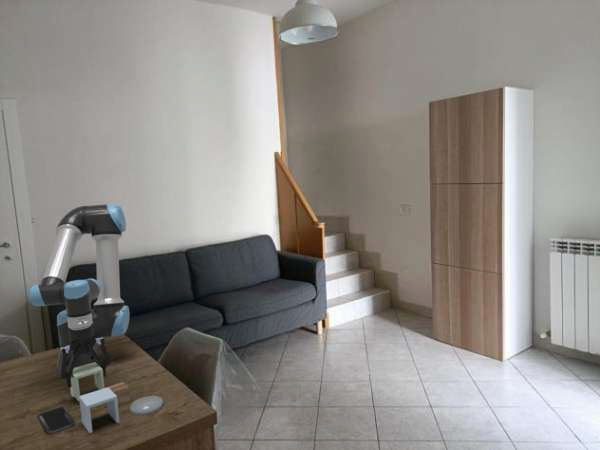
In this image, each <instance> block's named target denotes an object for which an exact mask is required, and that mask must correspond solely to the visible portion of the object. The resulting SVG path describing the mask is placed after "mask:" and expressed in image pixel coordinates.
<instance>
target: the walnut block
mask: <svg viewBox="0 0 600 450" xmlns="http://www.w3.org/2000/svg"><path fill="white" fill-rule="evenodd" d="M108 387H109V388H110V390H111V391H112V392H113V393H114V394H115V395H116V396H117V401H118V406H119V405H122V404H125V403H128V402H130V401H131V397H130V389H129V386H128V384H126V382H125V381H122V382H120V383H115V384H113V385H109V386H108Z"/></svg>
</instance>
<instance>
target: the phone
mask: <svg viewBox="0 0 600 450" xmlns="http://www.w3.org/2000/svg"><path fill="white" fill-rule="evenodd" d="M37 419H38V420H39V423H40V424H41V426H42V428H43V430H44V432H45V434H46V435H47V436H50V435H54V434H56V433H59V432H62V431H65V430H68V429H70V428H73V427H74V426H75V425H76V422H75V420H74V418H73V417H72V416H71V414H70V412H69V411H68V410H67V408H66V407H65V406H59V407H57V408H54V409H50V410H47V411H44V412H40V413H39V414H37Z"/></svg>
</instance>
